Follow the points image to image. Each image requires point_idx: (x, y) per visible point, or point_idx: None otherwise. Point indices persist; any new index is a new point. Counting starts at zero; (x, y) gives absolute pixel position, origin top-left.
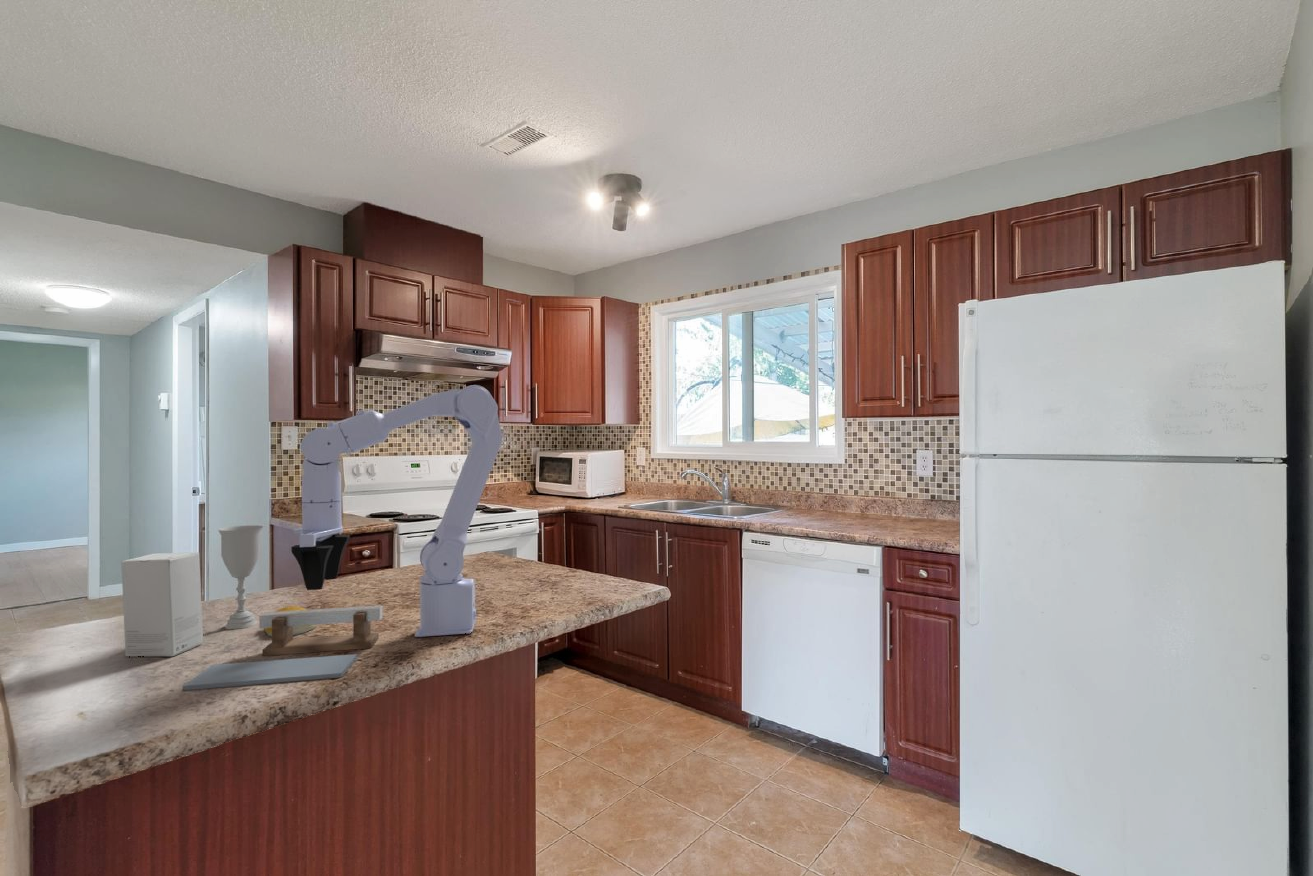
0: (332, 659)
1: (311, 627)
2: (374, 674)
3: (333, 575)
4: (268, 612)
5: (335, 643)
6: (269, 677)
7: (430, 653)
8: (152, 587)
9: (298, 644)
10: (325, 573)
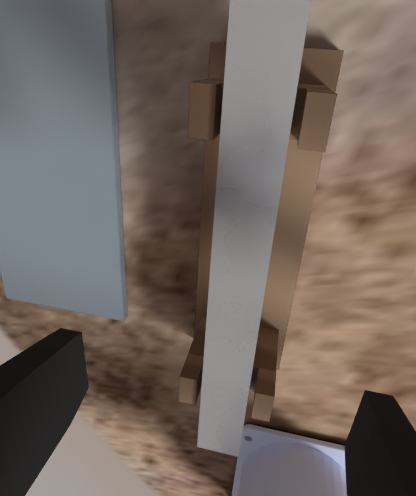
0: (93, 273)
1: None
2: (27, 343)
3: (349, 460)
4: (295, 25)
5: (206, 274)
6: None
7: (129, 428)
8: None
9: None
10: (369, 441)
